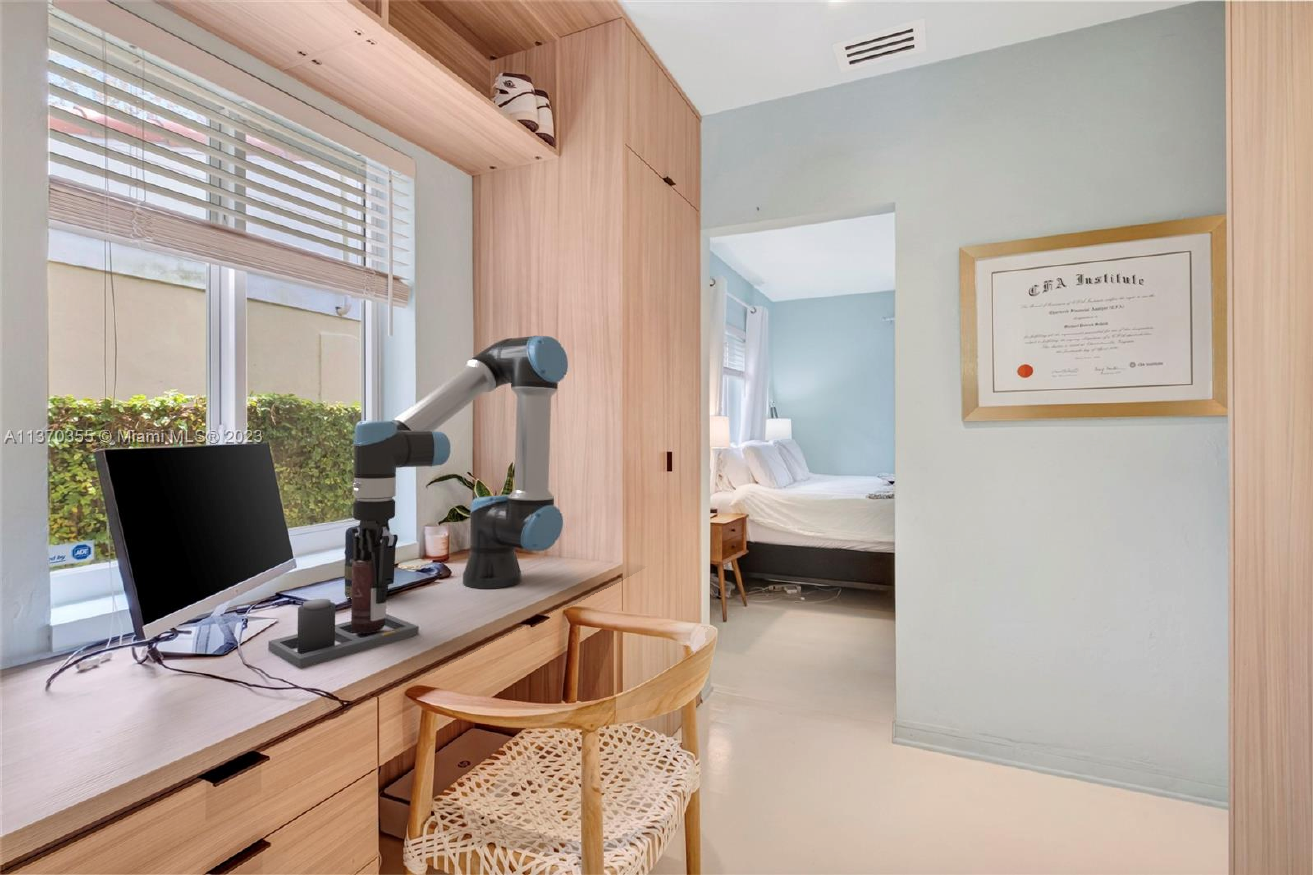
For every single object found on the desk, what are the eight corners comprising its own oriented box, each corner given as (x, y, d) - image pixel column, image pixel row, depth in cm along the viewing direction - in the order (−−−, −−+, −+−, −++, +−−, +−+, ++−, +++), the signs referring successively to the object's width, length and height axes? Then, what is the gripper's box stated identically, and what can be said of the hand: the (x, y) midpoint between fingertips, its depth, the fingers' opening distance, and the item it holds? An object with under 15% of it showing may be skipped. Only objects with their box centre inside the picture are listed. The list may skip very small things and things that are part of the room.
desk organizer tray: (384, 620, 127) (384, 612, 127) (418, 634, 120) (418, 625, 120) (268, 649, 110) (268, 639, 110) (299, 668, 102) (299, 657, 102)
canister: (359, 605, 137) (360, 527, 137) (335, 598, 142) (336, 523, 142) (396, 596, 145) (398, 522, 145) (373, 589, 150) (374, 518, 150)
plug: (325, 641, 115) (326, 595, 114) (340, 649, 111) (341, 601, 111) (291, 650, 110) (292, 602, 110) (306, 658, 106) (306, 609, 106)
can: (373, 635, 116) (374, 563, 116) (344, 632, 117) (345, 560, 117) (392, 624, 122) (393, 556, 122) (364, 622, 123) (365, 554, 123)
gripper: (335, 496, 120) (333, 612, 121) (377, 504, 110) (375, 631, 111) (371, 493, 126) (370, 604, 127) (415, 501, 116) (413, 621, 117)
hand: (372, 616), depth 119 cm, fingers open, 3 cm apart
